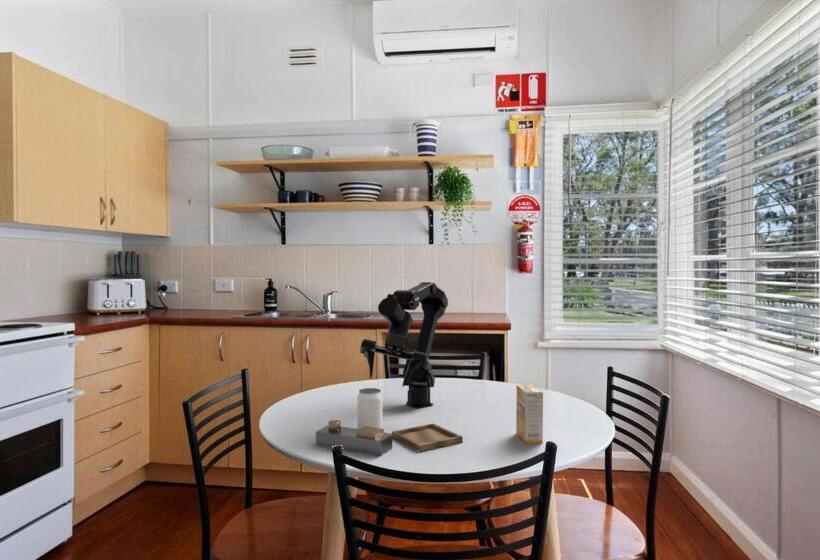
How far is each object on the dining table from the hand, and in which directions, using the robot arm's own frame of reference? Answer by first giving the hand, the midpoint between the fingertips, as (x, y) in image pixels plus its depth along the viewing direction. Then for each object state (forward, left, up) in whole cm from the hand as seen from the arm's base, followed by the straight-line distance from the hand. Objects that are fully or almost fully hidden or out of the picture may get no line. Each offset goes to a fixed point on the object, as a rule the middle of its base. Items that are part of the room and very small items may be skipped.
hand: (386, 382), depth 147 cm
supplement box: (-26, +28, -12) cm, 40 cm away
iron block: (+15, +10, -12) cm, 22 cm away
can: (+8, +5, -12) cm, 16 cm away
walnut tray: (-3, +15, -12) cm, 20 cm away
